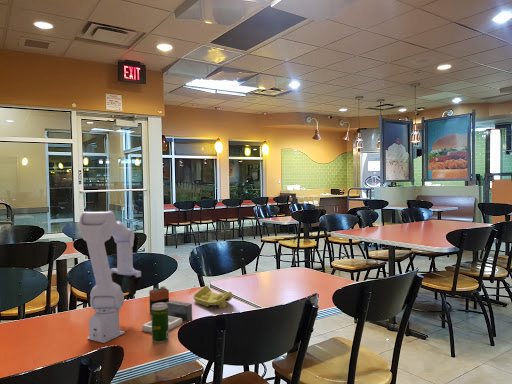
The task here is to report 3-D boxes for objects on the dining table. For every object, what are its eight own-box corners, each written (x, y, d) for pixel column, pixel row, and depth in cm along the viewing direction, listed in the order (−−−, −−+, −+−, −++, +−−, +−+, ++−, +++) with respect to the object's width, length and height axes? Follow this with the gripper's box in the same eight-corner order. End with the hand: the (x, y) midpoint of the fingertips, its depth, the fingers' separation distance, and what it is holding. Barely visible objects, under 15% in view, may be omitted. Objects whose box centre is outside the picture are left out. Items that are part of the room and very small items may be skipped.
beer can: (169, 336, 132) (168, 301, 131) (167, 343, 126) (166, 306, 126) (153, 337, 131) (152, 302, 131) (150, 344, 126) (150, 307, 125)
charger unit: (187, 321, 145) (186, 306, 145) (166, 317, 150) (166, 302, 149) (192, 318, 148) (192, 303, 148) (172, 315, 152) (171, 300, 152)
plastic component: (190, 296, 169) (208, 283, 175) (198, 310, 171) (214, 296, 176) (215, 304, 153) (233, 289, 159) (222, 319, 155) (240, 303, 161)
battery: (169, 311, 157) (169, 287, 156) (153, 315, 153) (152, 290, 152) (165, 308, 160) (164, 285, 160) (149, 312, 156) (148, 288, 156)
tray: (161, 334, 133) (160, 329, 133) (142, 330, 137) (142, 325, 137) (182, 323, 143) (182, 318, 143) (164, 319, 147) (164, 314, 147)
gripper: (146, 258, 151) (147, 292, 151) (119, 255, 157) (120, 288, 158) (132, 261, 144) (133, 297, 145) (105, 258, 151) (106, 293, 151)
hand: (125, 293), depth 151 cm, fingers open, 7 cm apart
